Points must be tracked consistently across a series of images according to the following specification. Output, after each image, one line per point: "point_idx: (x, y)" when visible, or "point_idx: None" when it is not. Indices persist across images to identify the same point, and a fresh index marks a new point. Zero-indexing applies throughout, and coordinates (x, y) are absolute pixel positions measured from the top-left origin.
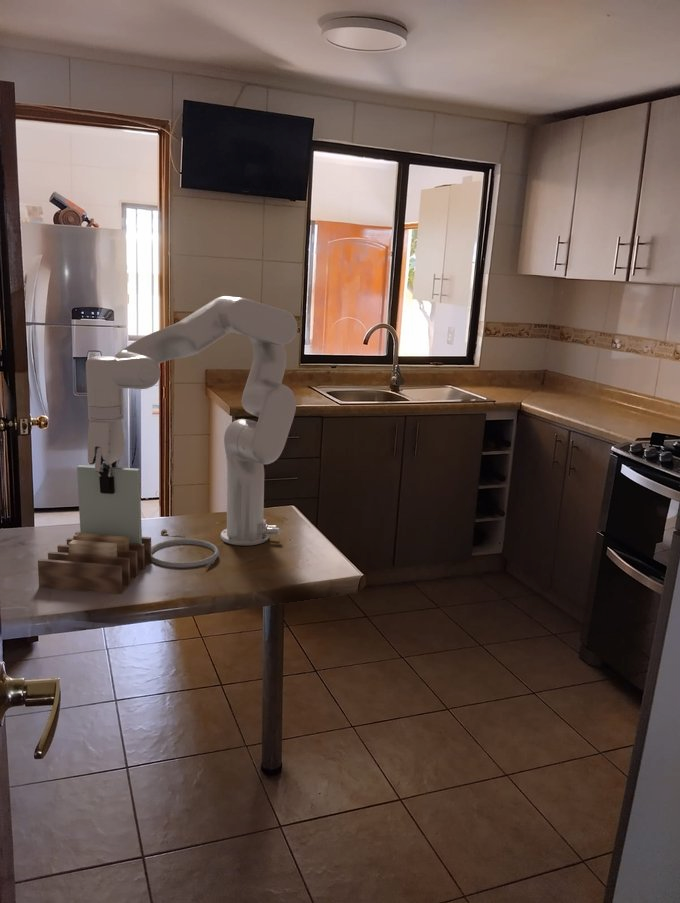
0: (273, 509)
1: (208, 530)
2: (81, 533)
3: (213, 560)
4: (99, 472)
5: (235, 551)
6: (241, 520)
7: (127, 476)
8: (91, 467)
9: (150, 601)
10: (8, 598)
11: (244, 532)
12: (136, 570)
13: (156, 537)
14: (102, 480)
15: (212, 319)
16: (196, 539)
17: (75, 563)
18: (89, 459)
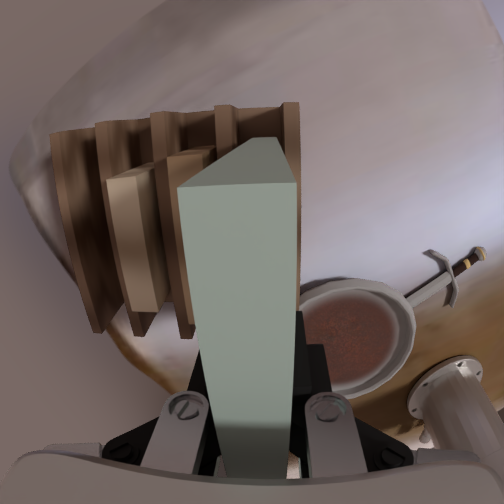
0: None
1: (487, 324)
2: (200, 170)
3: None
4: (123, 439)
5: (384, 396)
6: (431, 425)
7: None
8: (210, 375)
9: (132, 342)
10: (54, 96)
11: (423, 412)
12: None
13: (461, 243)
14: (188, 389)
15: None
16: (410, 351)
17: (66, 234)
18: (4, 488)
